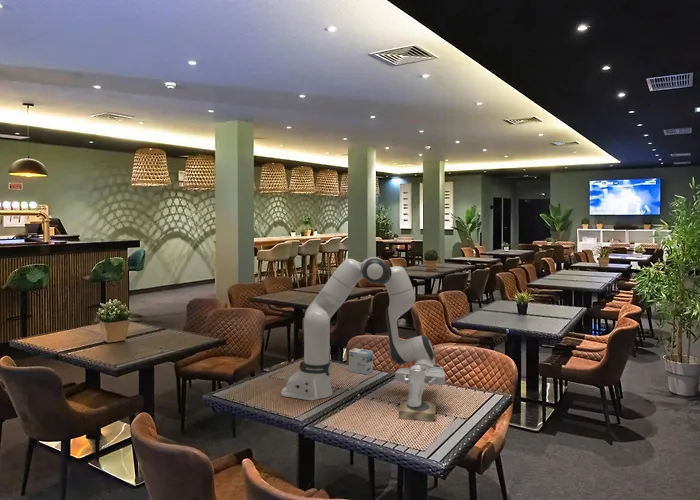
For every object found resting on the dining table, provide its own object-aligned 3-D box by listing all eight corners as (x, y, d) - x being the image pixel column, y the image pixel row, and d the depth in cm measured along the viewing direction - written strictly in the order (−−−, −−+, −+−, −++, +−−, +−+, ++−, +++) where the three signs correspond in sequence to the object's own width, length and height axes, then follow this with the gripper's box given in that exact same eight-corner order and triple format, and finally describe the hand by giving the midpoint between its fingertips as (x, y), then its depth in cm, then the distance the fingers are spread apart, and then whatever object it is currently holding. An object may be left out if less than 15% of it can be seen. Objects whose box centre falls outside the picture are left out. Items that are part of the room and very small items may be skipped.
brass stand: (398, 418, 199) (398, 410, 199) (401, 406, 212) (401, 398, 212) (435, 421, 197) (435, 413, 196) (435, 409, 209) (435, 401, 209)
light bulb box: (373, 371, 259) (373, 350, 258) (366, 375, 253) (366, 353, 252) (355, 368, 265) (355, 347, 264) (348, 371, 259) (348, 350, 258)
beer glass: (422, 409, 200) (426, 372, 199) (404, 406, 202) (408, 369, 200) (423, 402, 207) (427, 366, 206) (406, 399, 208) (410, 364, 207)
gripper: (398, 362, 218) (392, 372, 205) (446, 367, 213) (443, 377, 200) (397, 377, 219) (391, 387, 205) (446, 381, 213) (443, 392, 200)
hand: (418, 382), depth 203 cm, fingers open, 8 cm apart
